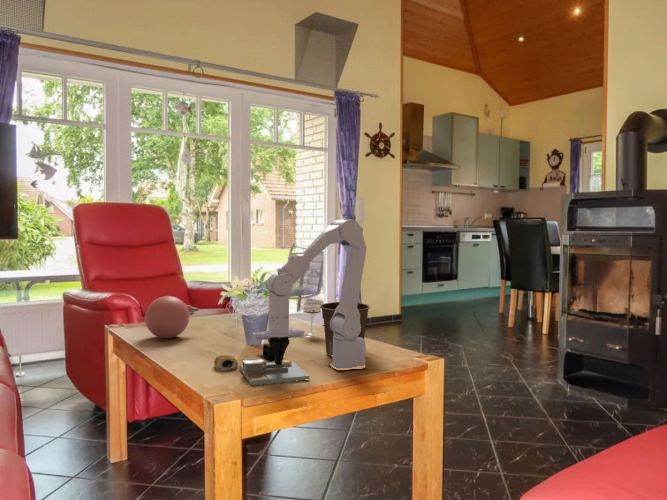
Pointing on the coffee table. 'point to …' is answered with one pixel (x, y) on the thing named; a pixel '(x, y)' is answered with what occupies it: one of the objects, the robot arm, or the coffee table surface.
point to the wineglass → (311, 311)
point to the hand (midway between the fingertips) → (278, 364)
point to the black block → (267, 353)
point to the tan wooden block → (253, 362)
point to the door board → (273, 372)
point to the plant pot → (328, 313)
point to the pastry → (225, 362)
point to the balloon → (168, 316)
